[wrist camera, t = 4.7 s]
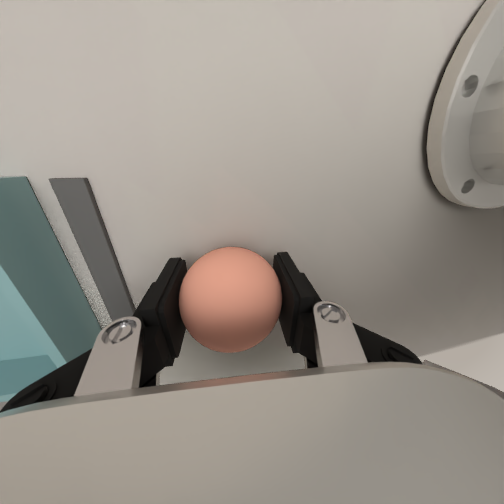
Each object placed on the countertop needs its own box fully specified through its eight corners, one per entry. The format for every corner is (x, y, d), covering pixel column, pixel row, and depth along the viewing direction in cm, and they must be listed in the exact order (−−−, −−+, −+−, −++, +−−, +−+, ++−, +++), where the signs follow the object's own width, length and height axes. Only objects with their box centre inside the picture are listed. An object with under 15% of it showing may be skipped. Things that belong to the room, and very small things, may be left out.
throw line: (87, 177, 9) (83, 178, 9) (157, 372, 16) (156, 376, 16) (53, 178, 9) (48, 178, 9) (139, 375, 16) (138, 379, 16)
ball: (272, 230, 11) (303, 282, 6) (269, 298, 13) (290, 371, 9) (183, 234, 10) (148, 292, 6) (196, 303, 12) (177, 384, 8)
